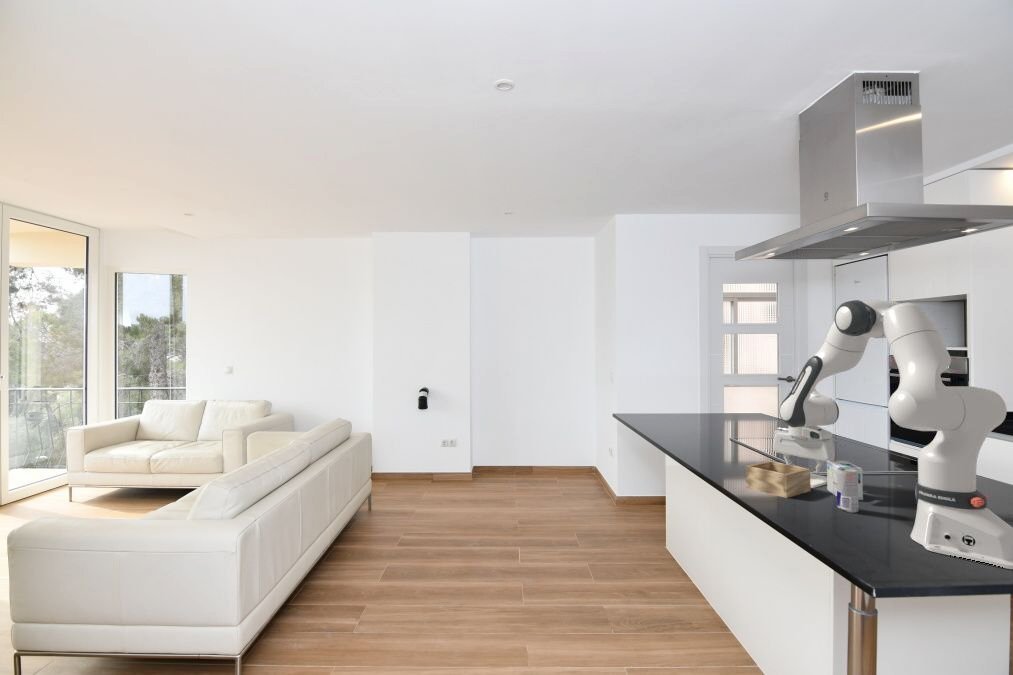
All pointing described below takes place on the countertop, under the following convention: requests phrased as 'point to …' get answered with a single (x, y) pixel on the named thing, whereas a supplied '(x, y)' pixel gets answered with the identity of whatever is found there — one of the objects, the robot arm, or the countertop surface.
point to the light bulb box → (832, 476)
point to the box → (778, 479)
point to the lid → (817, 480)
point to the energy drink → (847, 489)
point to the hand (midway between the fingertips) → (802, 469)
